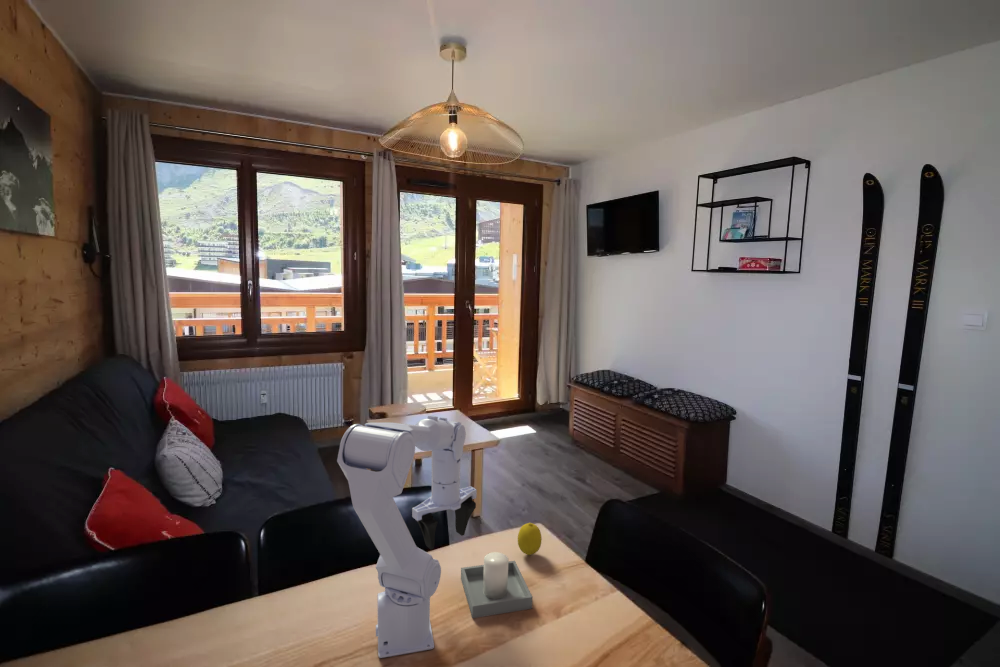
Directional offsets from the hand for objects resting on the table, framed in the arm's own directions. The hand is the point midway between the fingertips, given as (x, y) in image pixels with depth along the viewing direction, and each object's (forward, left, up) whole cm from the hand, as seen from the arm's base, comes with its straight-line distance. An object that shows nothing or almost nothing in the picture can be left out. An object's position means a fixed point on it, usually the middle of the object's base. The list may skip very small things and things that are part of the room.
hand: (445, 539), depth 101 cm
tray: (+10, -4, -10) cm, 15 cm away
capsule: (+10, -5, -10) cm, 15 cm away
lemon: (+21, +7, -11) cm, 24 cm away
